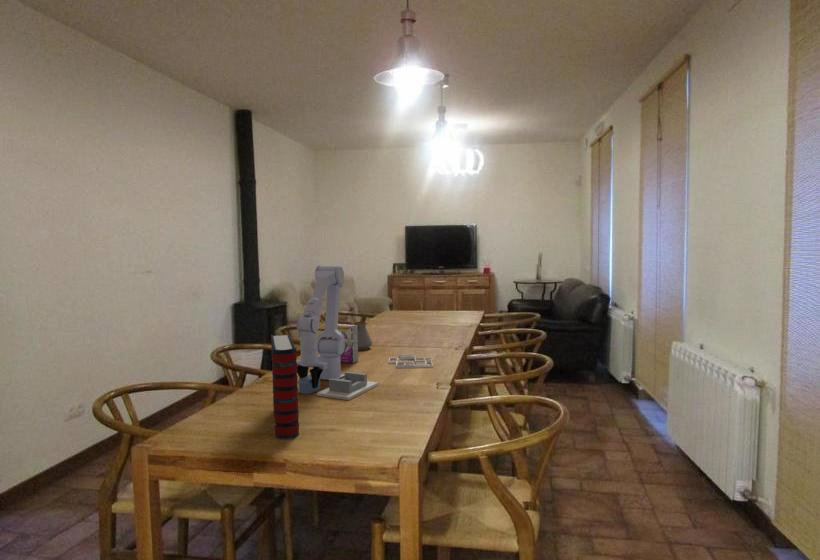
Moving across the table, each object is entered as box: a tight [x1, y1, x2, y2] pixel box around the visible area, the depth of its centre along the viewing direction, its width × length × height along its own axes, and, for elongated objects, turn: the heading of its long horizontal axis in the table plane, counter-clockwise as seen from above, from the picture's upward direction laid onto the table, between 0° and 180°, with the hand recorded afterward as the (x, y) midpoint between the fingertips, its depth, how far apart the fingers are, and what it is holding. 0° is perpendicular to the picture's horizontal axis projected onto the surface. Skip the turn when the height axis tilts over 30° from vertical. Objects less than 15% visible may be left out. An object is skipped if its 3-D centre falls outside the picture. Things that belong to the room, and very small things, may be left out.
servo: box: [297, 373, 322, 395], centre depth 191 cm, size 4×10×6 cm, turn 154°
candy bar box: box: [330, 323, 359, 364], centre depth 234 cm, size 11×5×16 cm, turn 65°
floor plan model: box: [388, 354, 434, 369], centre depth 231 cm, size 19×25×2 cm
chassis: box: [316, 371, 379, 401], centre depth 191 cm, size 13×20×5 cm, turn 154°
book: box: [270, 333, 300, 440], centre depth 156 cm, size 25×7×25 cm, turn 16°
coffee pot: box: [352, 321, 373, 351], centre depth 257 cm, size 21×12×15 cm, turn 178°
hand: (309, 386), depth 191 cm, fingers closed on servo, 4 cm apart
